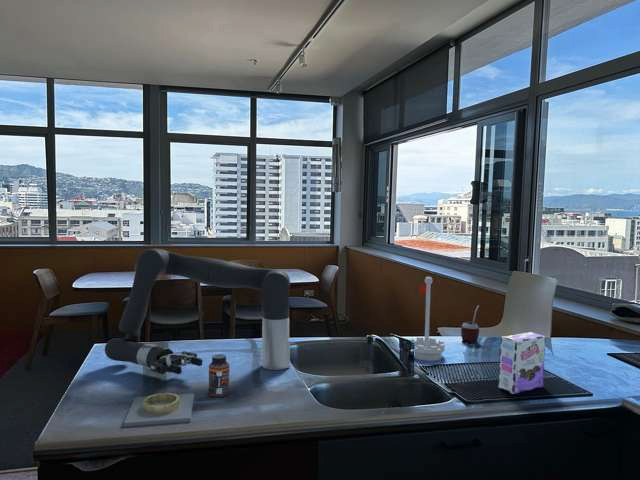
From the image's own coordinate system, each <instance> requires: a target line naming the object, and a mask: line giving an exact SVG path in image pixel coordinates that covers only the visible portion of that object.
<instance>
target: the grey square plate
mask: <svg viewBox="0 0 640 480" xmlns="http://www.w3.org/2000/svg"><path fill="white" fill-rule="evenodd" d="M177 395H178V396H180V405H179V408H178V409H176V410H175V411H173V412H170V413H166V414H159V415H152V414H147V413H145V412H144V411H143V401H144V399H145V398H147V397H149V396H150V395H147V396H146V395H145V396H135V397H134V399H133V401H132V403H131V405H130V408H129V411H128V413H127V414H126V417H125V419H124V421H123V427H124V428H126V427H127V428H128V427H139V426H151V425H152V426H154V425H165V424H177V423H190V422H191V421H192V413H193V406H194V401H195V399H194V398H195V393H194V392H193V393H190V392H189V393H177ZM170 403H172V402H171V401H159V402H155V403H152V404H150V405H153V406H162V405H167V404H170Z"/></svg>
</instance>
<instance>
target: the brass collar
mask: <svg viewBox="0 0 640 480" xmlns="http://www.w3.org/2000/svg"><path fill="white" fill-rule="evenodd" d="M177 394H178V393H177ZM177 394H176V393H172V392H160V393H154V394H151V395H148V396H149V397H147V398H145V399H144V401H143V411H144V412H145V413H147V414H152V415H159V414H166V413H170V412H173V411H175V410H176V409H178V408H179V405H180V396H178V395H177ZM159 401H171V402H172V403H170V404H167V405H162V406H153V405H150V404H152V403H155V402H159Z"/></svg>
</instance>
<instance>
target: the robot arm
mask: <svg viewBox="0 0 640 480" xmlns="http://www.w3.org/2000/svg"><path fill="white" fill-rule="evenodd" d="M136 263H137V264H136V267H135V272H134V273H135V274H134V278H133V283H132V287H131V290H130V294H129V298H128V300H127V303H126V306H125V309H124V311H123V313H122V316H121V319H120V322H119V323H118V330H119V331H120V332H121V333H123V334H126V335H125V337H120V338H119V337H116V338H112V339H110V340H108V341H107V342H106V344H105V345H104V353H105V355H106V357H107V358H108V359H109V360H111V361H112V360H113V361H117V362H123V363H124V362H125V363H126V362H127V363H132V364H135V365H139V366H142V367H144V368H147V369H150V371H151V372H154V373H156V374H159V375H166V373H168V374H170V373H173V374H175V375H181V374H182V373H183V372H182V367H184V366H187V365H193V366H197V367H201V366H202V365H203V359H202V357H201V358H200V357H198V353H195V352H191V351H190V352H189V351H184V350H183V351H181V353H180V354H179V353H176V352H175V353H174V351H173V350H172V349H171V348H169V347H166V346H161V345H157V344H152V343H146V342H140V337H141V328H142V326H143V323H144V321H145V319H146V315H147V312H148V308H149V300H150V296H151V291H152V288H153V286H154V284H155V282H156V280H157V278H158V276H159V275H161V276H162V275H165V276H167V275H169V276H177V277H178V276H179V277H183V278H186V279H189V280H191V281H194V282H196V283H199V284H202V285H207V286H212V287H217V288H228V289H231V288H232V289H234V288H247V289H248V288H249V289H254V290H259V291H261V312H262V314H261V315H262V317H261V319H262V321H261V323H262V328H261V329H262V332H261V335H262V337H261V340H262V341H261V347H262V348H261V354H262V355H261V356H262V357H261V367H262V368H263V369H265V370H270V371H279V370H284V369H289V368H291V339H290V286H291V279H290V277H289V275H288V274H287V272H286V271H284V270H281V269H277V268H262V267H252V266H248V265H244V264H242V263H241V264H240V263H238V262H232V261H228V260H224V259H219V258H213V257H204V256H203V257H202V256H190V255H184V254H180V253H176V252H171V251H169V250H166V249H162V248H148V249H146V250H143V251H142V252H141V253H140V255H139V256H138V259H137V262H136ZM182 360H183V361H182Z"/></svg>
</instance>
